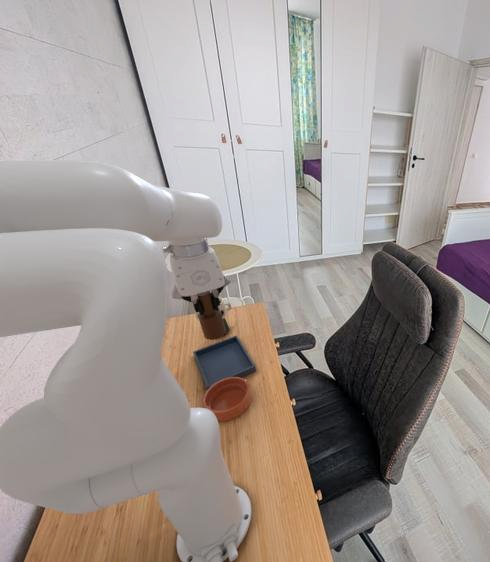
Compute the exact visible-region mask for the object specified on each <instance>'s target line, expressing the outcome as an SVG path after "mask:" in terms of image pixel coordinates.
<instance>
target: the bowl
mask: <svg viewBox="0 0 490 562" xmlns="http://www.w3.org/2000/svg"><path fill="white" fill-rule="evenodd" d="M250 385H251V384H249V381H247V380H246V379H245V378H244V377H243V378H240V377H229V378H225V379H222V380H220V381H218V382H216V383H215V384H213V385H212V386H211V387H210V388H209V389H208V390H207V389H206V391H205V393H204V395H203V396H202V405H203V408H206V409H209V410H211V411H212V412H213V413H214V414H215V416H216V418H217V420H218V423H219V422H228V421H232V420H234V419H235V418H237V417H239V416H241V415H242V414H243V413H245V411H247V410H248V408H249V407H250V405H251V403H252V399H253V393H252V390H251V386H250Z"/></svg>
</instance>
